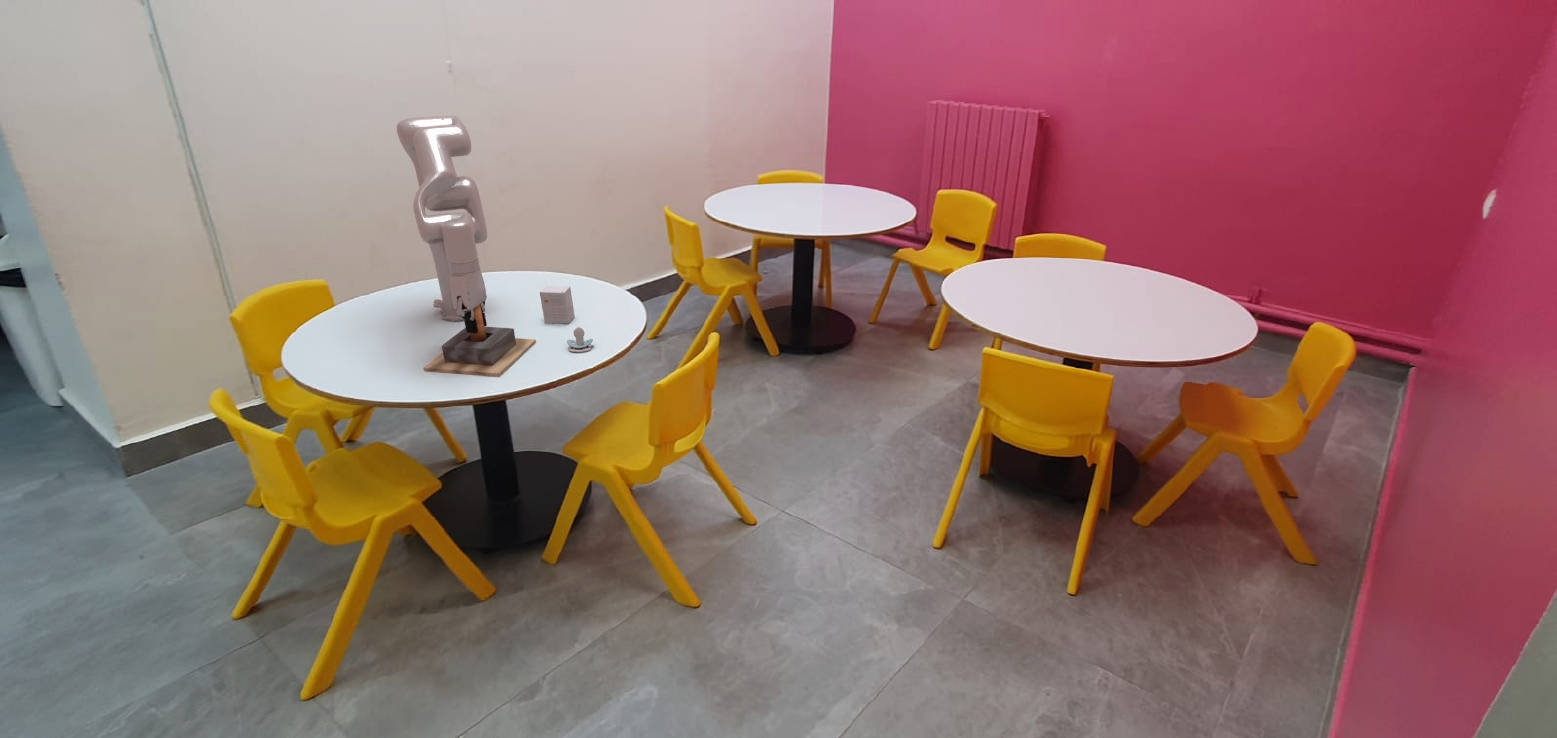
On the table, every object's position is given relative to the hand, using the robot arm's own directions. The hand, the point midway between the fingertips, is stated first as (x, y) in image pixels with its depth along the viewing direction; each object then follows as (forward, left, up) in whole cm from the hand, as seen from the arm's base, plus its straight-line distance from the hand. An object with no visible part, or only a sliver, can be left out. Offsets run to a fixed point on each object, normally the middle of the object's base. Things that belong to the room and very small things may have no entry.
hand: (476, 328), depth 205 cm
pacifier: (+25, +9, -9) cm, 28 cm away
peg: (0, 0, -4) cm, 4 cm away
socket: (0, 0, -9) cm, 9 cm away
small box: (+11, +28, -9) cm, 31 cm away
